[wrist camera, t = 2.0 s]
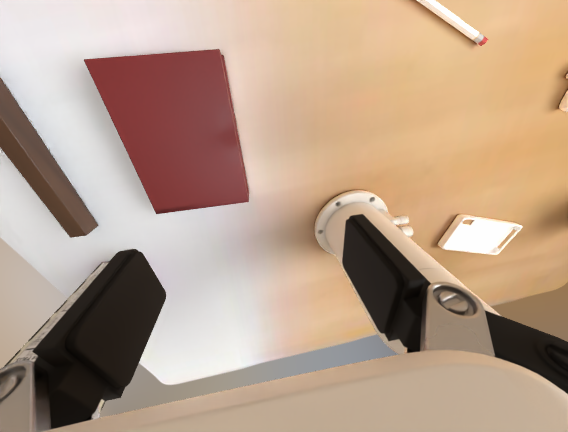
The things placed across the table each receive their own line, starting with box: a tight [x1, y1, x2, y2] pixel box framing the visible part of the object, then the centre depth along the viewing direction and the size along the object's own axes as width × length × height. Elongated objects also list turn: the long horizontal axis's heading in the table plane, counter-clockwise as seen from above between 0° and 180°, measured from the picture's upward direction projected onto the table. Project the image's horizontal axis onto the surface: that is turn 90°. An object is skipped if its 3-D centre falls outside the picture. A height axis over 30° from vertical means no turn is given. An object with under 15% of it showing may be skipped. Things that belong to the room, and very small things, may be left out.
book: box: [84, 49, 249, 214], centre depth 24 cm, size 12×16×3 cm
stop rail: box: [0, 78, 98, 237], centre depth 23 cm, size 2×20×2 cm, turn 4°
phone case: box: [438, 214, 522, 255], centre depth 39 cm, size 7×1×15 cm
